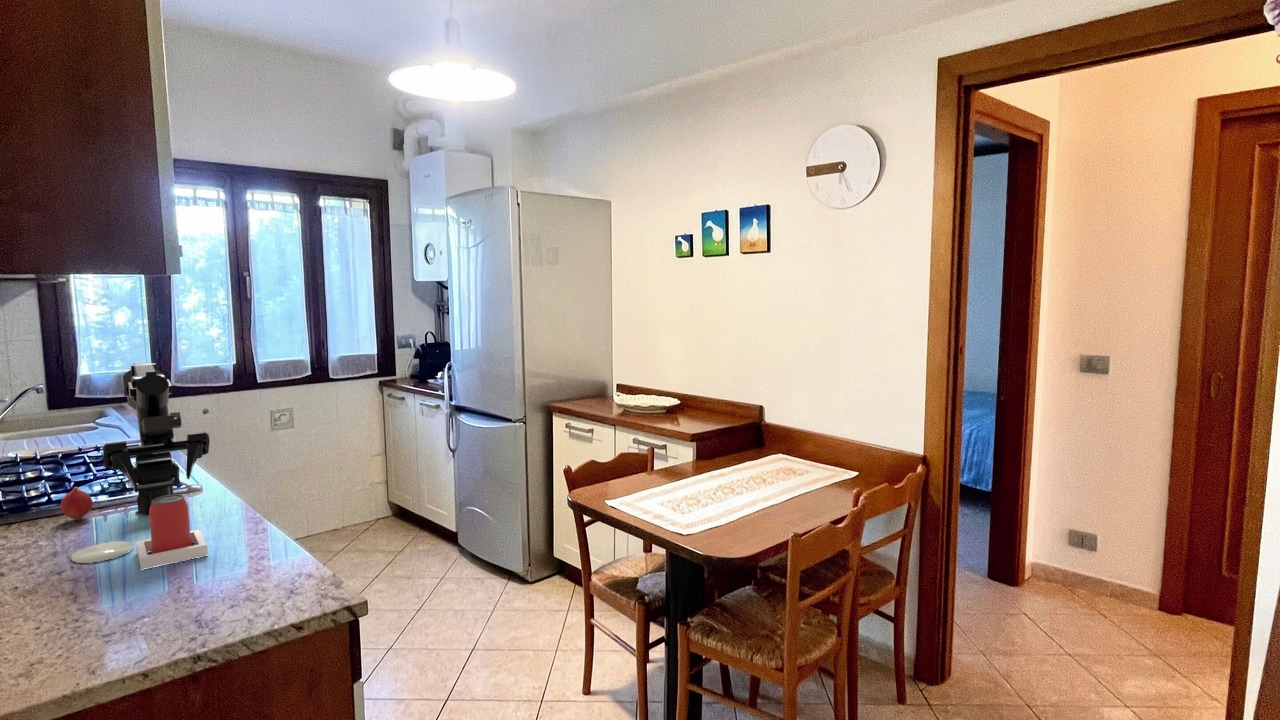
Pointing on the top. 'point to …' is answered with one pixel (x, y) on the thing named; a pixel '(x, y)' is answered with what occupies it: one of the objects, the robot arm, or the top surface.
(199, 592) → the top surface
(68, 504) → the onion
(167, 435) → the robot arm
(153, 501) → the beer can
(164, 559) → the collar
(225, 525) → the top surface
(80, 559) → the coaster
